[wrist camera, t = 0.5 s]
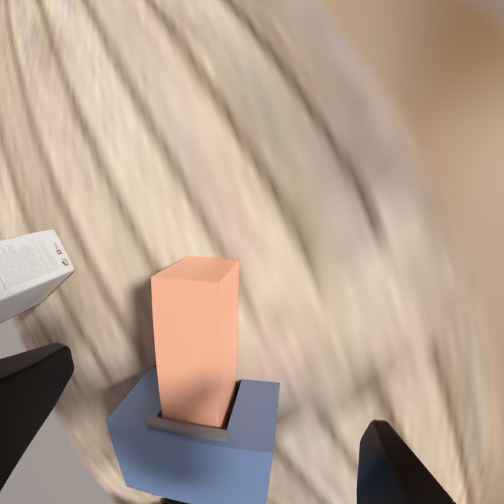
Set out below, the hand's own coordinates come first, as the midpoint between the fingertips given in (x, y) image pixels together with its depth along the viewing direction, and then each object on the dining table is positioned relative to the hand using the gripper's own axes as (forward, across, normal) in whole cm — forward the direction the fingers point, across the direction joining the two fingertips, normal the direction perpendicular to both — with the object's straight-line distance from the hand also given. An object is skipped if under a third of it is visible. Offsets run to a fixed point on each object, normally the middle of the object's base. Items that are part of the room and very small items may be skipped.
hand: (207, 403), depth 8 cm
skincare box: (+13, +18, +5) cm, 23 cm away
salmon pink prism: (+12, +3, +7) cm, 15 cm away
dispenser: (+12, +2, +13) cm, 18 cm away
